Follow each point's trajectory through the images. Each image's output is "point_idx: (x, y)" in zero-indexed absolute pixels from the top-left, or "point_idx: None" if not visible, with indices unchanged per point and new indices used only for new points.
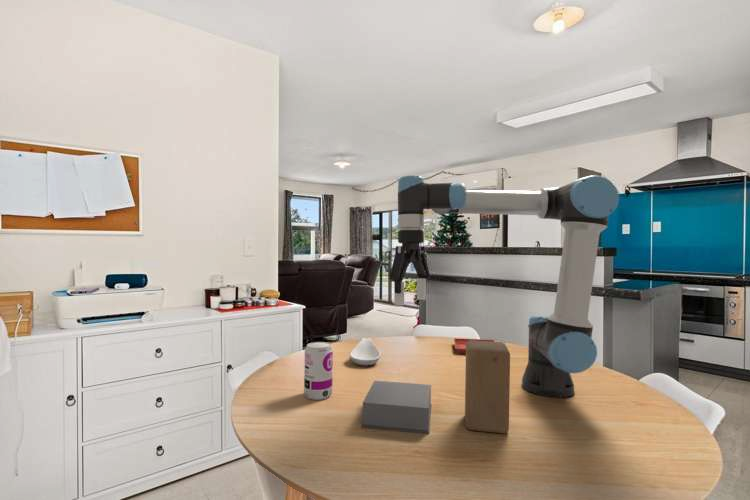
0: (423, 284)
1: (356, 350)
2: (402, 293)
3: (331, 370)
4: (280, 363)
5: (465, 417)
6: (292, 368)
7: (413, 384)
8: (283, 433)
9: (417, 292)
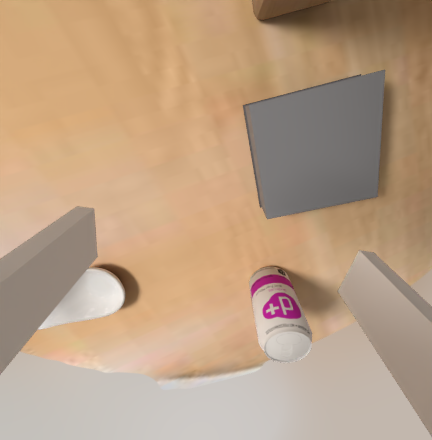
0: (11, 287)
1: (86, 313)
2: (424, 306)
3: (276, 292)
4: (178, 368)
5: (301, 8)
6: (188, 349)
7: (260, 143)
8: (391, 261)
9: (72, 281)
